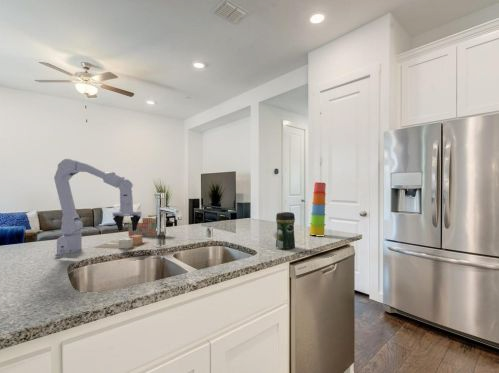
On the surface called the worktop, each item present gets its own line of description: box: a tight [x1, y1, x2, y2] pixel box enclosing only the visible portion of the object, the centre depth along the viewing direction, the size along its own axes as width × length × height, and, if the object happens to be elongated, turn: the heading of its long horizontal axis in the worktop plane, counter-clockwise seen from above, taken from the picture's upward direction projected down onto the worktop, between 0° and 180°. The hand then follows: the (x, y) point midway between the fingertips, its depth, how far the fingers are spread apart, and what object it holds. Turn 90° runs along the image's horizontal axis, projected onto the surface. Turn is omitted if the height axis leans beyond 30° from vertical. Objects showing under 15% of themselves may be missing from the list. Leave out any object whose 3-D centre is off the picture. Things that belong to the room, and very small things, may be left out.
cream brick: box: [117, 237, 133, 250], centre depth 126 cm, size 5×5×4 cm
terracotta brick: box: [128, 235, 143, 245], centre depth 135 cm, size 5×5×4 cm
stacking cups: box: [309, 181, 327, 235], centre depth 165 cm, size 10×10×35 cm
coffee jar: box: [275, 211, 296, 250], centre depth 132 cm, size 10×8×19 cm
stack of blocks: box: [127, 216, 167, 237], centre depth 158 cm, size 21×6×12 cm, turn 85°
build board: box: [94, 240, 150, 250], centre depth 131 cm, size 15×21×1 cm
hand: (127, 230), depth 128 cm, fingers open, 7 cm apart
